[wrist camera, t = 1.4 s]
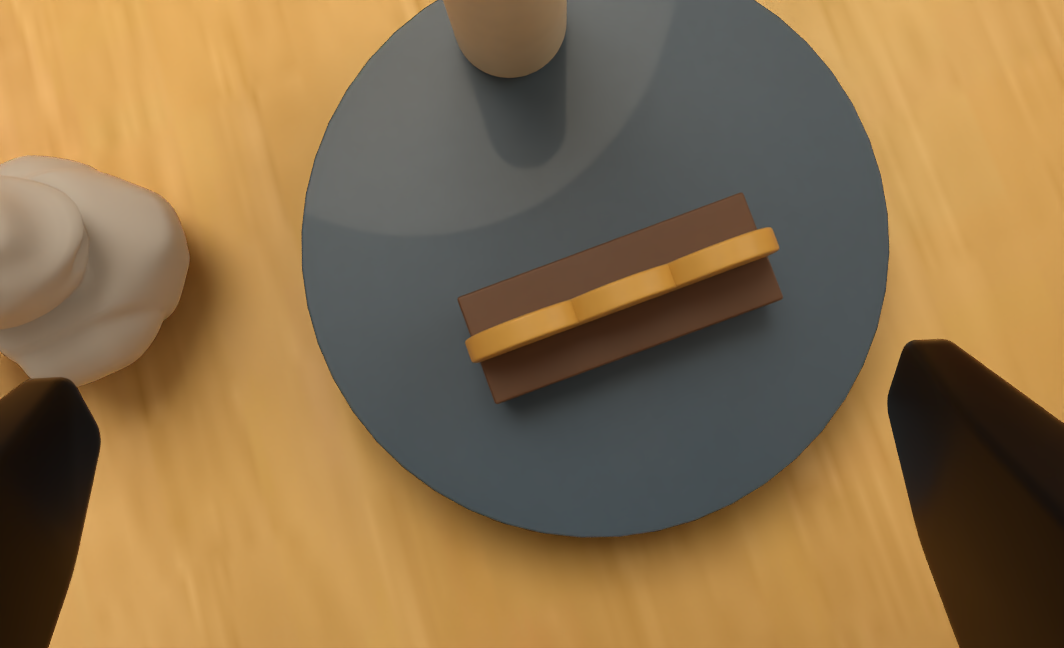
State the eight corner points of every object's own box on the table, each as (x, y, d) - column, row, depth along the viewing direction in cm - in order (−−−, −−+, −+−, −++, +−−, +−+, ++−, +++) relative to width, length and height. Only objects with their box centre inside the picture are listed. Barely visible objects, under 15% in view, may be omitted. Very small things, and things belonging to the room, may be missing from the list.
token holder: (955, 414, 21) (1369, 470, 10) (424, 607, 21) (281, 861, 10) (752, -105, 22) (937, -563, 11) (240, 89, 22) (-71, -172, 11)
